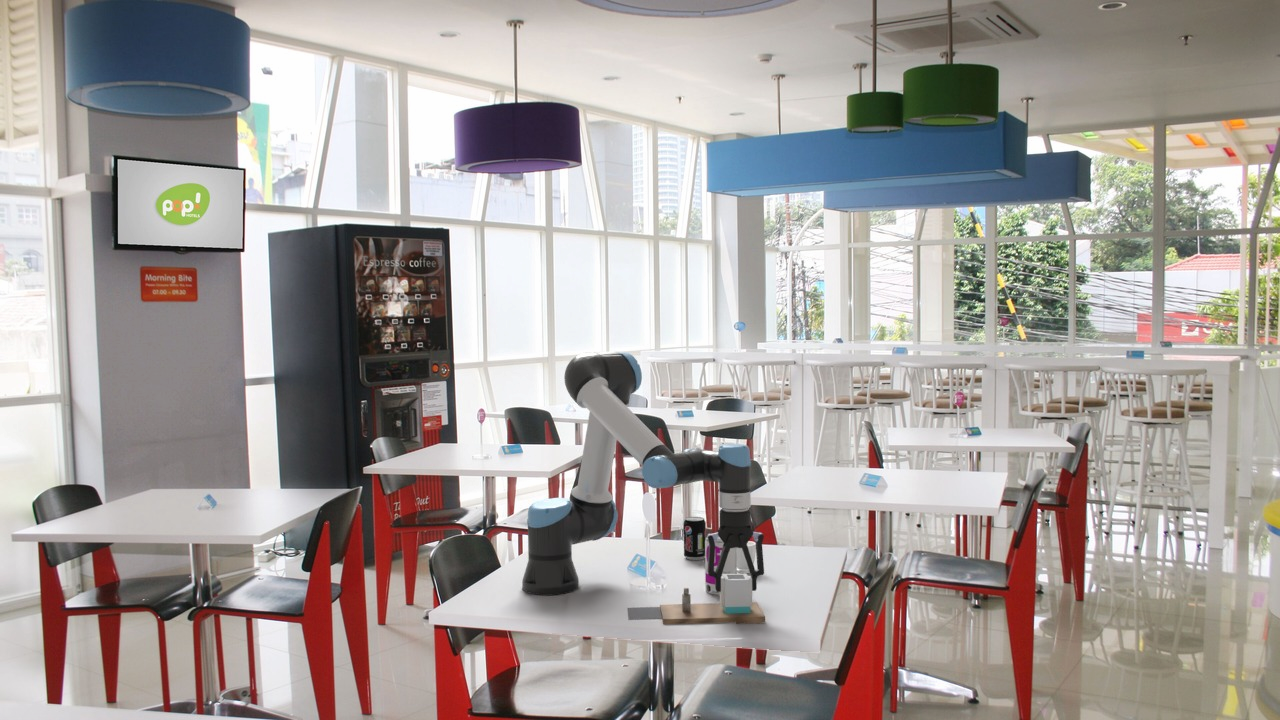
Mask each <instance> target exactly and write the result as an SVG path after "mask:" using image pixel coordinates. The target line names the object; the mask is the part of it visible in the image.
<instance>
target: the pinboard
mask: <svg viewBox="0 0 1280 720" xmlns="http://www.w3.org/2000/svg"><path fill="white" fill-rule="evenodd" d="M689 589H690V588H689V587H683V594H682V595H681V603H679V604H678V603H677V604H673V603H672V604H659V607H660V611H661V616H662V619H661V620H662V624H663V625H679V624H682V625H684V624H717V623H718V624H719V623H735V624H740V623H741V624H761V623H760V622H765V623H766V615H765V613H764V611H762V608H761V607H760V605H759V603H758V602H757V601H755V602H754V601H752V606H750V613H734V614H725V612H724V610H723V607H722V606H721V605H720V602H715V603H691V598H692V597H691V594H690V590H689ZM741 624H740V625H741Z"/></svg>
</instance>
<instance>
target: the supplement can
mask: <svg viewBox="0 0 1280 720" xmlns="http://www.w3.org/2000/svg"><path fill="white" fill-rule="evenodd" d="M723 544H724V543H723V541H722V540H721V539H720V537H718V538H717V542H716V543H715V559H714V571H716V568H717V565H718V562H719V559H720V555H721V552H722V548H723ZM708 554H709V541H708V538H707V537H706V540H705V557H704V560H705V561H704V563H705V564H704V565H705V566H704V567H705V568H704V570H705V571H704V572H705V573H704V575H705V580H704V581H705V592H706V593H709V594H710V595H715V596H720V592H717V591H716V589H715V577H712V576H709V574H708ZM737 570H738V568H737V552H736V547H735V548H730V551H729V553H728V556H727V559H726V562H725V566H724V569H723V572H722V574H738V572H737Z"/></svg>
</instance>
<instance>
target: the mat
mask: <svg viewBox="0 0 1280 720" xmlns="http://www.w3.org/2000/svg"><path fill="white" fill-rule="evenodd" d="M626 608H627V617H628V621H634V620H635V621H636V620H637V621H638V620H639V621H640V620H662V616H661V611H660V606H649V607H648V606H644V607H643V606H642V607H641V606H640V607H639V606H638V607H626Z"/></svg>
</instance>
